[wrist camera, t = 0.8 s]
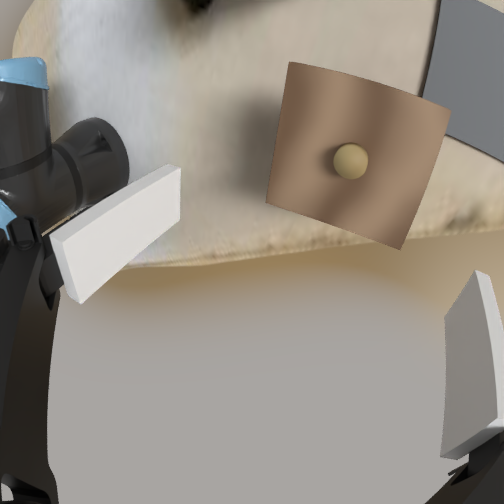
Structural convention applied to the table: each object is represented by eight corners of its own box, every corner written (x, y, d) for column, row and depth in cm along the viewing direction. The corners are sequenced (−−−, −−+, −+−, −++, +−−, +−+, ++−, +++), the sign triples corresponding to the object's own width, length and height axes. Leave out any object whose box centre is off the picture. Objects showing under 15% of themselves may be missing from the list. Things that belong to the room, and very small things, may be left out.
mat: (415, 120, 27) (415, 121, 27) (442, -13, 18) (443, -14, 17) (522, 171, 24) (523, 173, 23) (554, 46, 14) (556, 46, 14)
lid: (271, 196, 28) (259, 209, 26) (294, 62, 21) (282, 61, 19) (400, 241, 25) (399, 259, 23) (448, 108, 18) (455, 113, 16)
